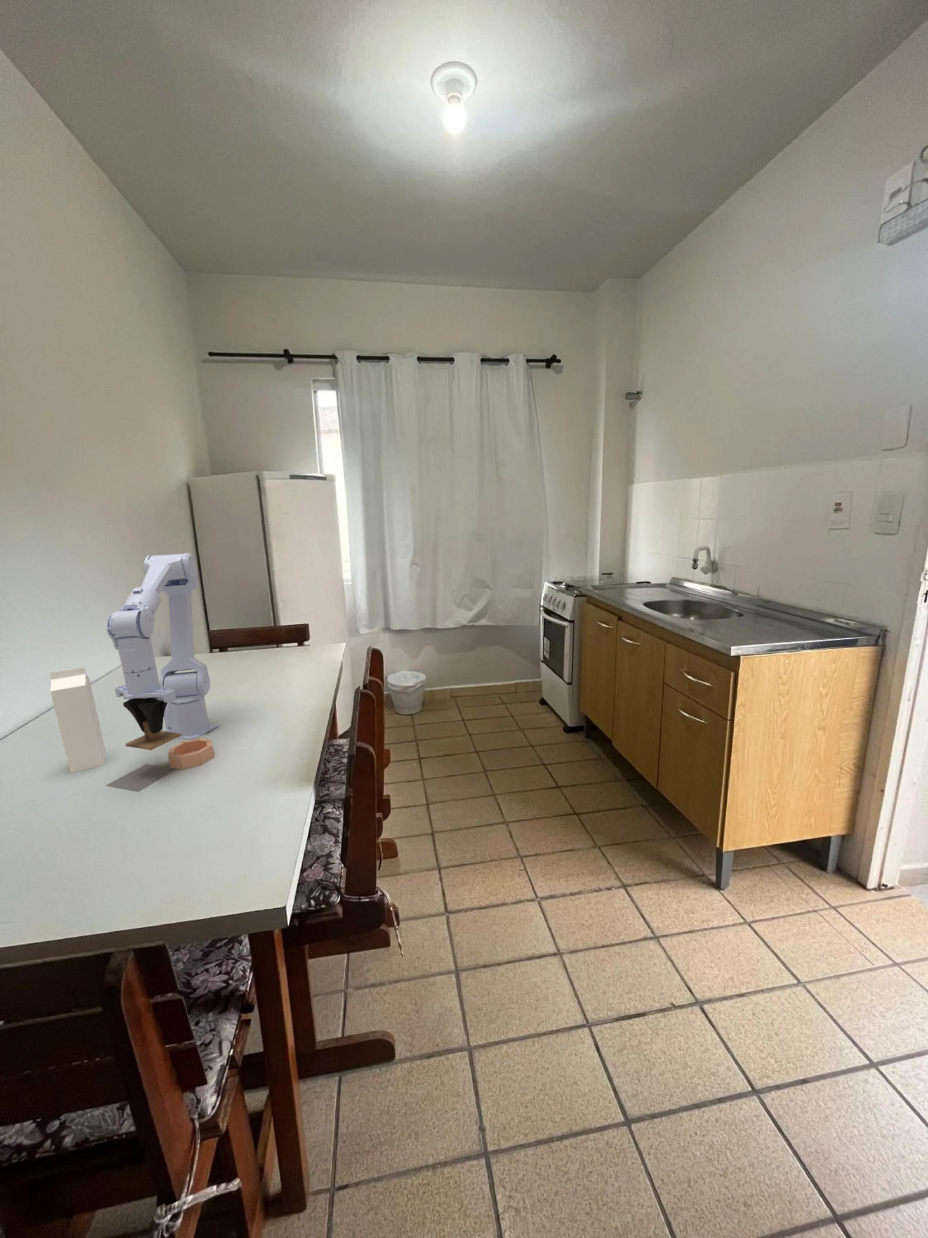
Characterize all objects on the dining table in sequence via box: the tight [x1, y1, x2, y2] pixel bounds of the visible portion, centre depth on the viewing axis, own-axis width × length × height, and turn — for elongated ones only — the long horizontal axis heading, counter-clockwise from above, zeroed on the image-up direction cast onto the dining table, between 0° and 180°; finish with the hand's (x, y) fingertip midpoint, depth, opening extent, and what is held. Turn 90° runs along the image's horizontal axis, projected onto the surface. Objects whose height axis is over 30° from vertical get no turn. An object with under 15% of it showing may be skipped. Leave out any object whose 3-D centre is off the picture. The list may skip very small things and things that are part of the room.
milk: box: [49, 666, 108, 774], centre depth 111 cm, size 6×6×22 cm
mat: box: [105, 763, 178, 793], centre depth 106 cm, size 9×9×1 cm
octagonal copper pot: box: [167, 737, 215, 770], centre depth 112 cm, size 8×8×3 cm
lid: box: [125, 720, 181, 751], centre depth 106 cm, size 7×7×5 cm
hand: (152, 730), depth 106 cm, fingers closed on lid
